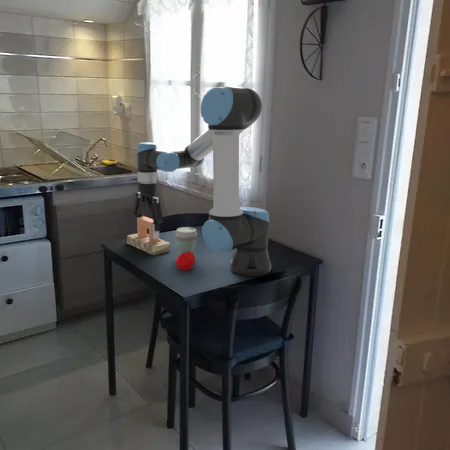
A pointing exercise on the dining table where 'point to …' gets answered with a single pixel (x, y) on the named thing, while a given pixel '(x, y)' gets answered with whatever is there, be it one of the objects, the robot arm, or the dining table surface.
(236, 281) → the dining table surface
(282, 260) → the dining table surface
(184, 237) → the coffee cup
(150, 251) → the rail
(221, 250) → the robot arm
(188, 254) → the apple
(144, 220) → the clip
